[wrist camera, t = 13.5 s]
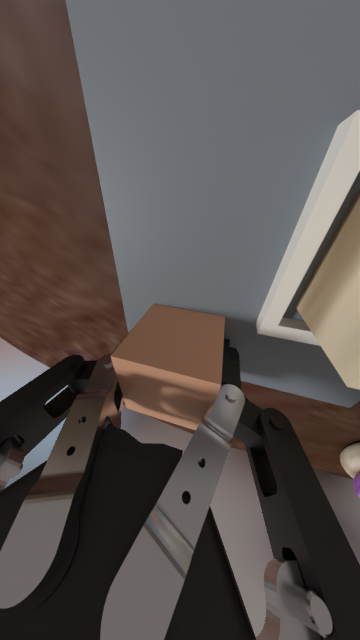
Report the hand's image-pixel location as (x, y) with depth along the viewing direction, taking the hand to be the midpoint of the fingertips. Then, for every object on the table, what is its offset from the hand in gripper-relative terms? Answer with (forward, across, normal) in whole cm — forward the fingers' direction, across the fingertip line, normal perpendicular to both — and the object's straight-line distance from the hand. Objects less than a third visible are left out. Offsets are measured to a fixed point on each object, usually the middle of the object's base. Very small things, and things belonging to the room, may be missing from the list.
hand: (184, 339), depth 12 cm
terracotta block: (0, 0, 0) cm, 0 cm away
